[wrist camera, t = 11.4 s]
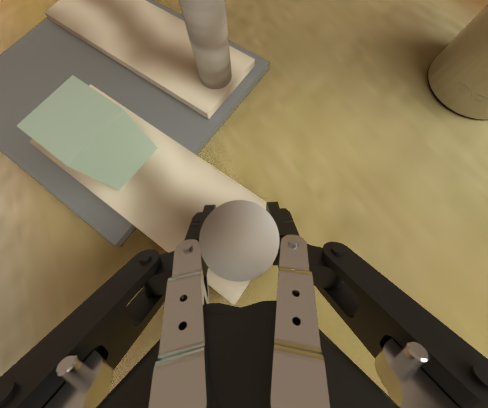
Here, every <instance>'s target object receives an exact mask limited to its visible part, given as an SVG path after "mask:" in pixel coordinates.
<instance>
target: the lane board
mask: <svg viewBox="0 0 488 408" xmlns="http://www.w3.org/2000/svg"><path fill="white" fill-rule="evenodd" d="M146 1H148V2H150V3H152V4H153V5H155V6H157V7H159V8H161V9H163V10H165V11H166V12H168V13H170V14H172V15H174V16H176V17H178V18H179V19H181V20H183V21H184V18H183V16H182V15H181V14H179V13H177V12H175V11H173V10H171V9H169V8H167V7H166V6H164V5H162V4H160V3H158V2H156V1H154V0H146ZM229 46H231V47H233V48H235V49H237V50H239V51H241V52H242V53H244V54H246V55H248V56H250V57H252V58H254V59H255V66H254V68H253V69H252V70H251V71H250V72H249V73H248V75H247V76H246V77H245V78H244V79H243V80H242V81H241V83H240V84H239V85H238V86H237V87H236V88H235V90H234V91H233V92H232V93H231V94H230V95H229V97H228V98H227V99H226V100H225V101H224V102H223V104H222V105H221V106H220V107H219V108H218V109H217V111H216V112H215V113H214V114H213V115H212V116H211V117H210V119H208V118H206V117H204V116H203V115H201V114H200V113H198V112H196V111H195V110H193V109H192V108H190V107H188V106H187V105H185V104H184V103H182V102H180V101H179V100H177V99H176V98H174V97H172V96H171V95H169V94H168V93H166V92H164V91H163V90H161V89H160V88H158V87H156V86H155V85H153V84H152V83H150V82H148V81H147V80H145V79H144V78H142V77H140V76H139V75H137V74H136V73H134V72H132V71H131V70H129V69H128V68H126V67H124V66H123V65H121V64H120V63H118V62H116V61H115V60H113V59H112V58H110V57H109V56H107V55H105V54H104V53H102V52H101V51H99V50H97V49H96V48H94V47H93V46H91V45H89V44H88V43H86V42H85V41H83V40H81V39H80V38H78V37H77V36H75V35H73V34H72V33H70V32H69V31H67V30H65V29H64V28H62V27H61V26H59V25H57V24H56V23H54V22H53V21H51V20H50V19H49V18H48V17H47V18H46V19H44V20H43V21H42V22H41V23H40V24H38V25H37V26H36V27H35V28H33V29H32V30H31V31H30V32H28V33H27V34H26V35H25V36H23V37H22V38H21V39H20V40H18V41H17V42H16V43H15V44H13V45H12V46H11V47H10V48H8V49H7V50H6V51H5V52H3V53H2V54H1V55H0V151H2V152H3V153H4V154H5V155H6V156H8V157H9V158H10V159H11V160H12V161H13V162H15V163H16V164H17V165H18V166H19V167H21V168H22V169H23V170H24V171H25V172H27V173H28V174H29V175H30V176H31V177H33V178H34V179H35V180H36V181H37V182H39V183H40V184H41V185H42V186H43V187H45V188H46V189H47V190H48V191H49V192H51V193H52V194H53V195H54V196H55V197H56V198H58V199H59V200H60V201H61V202H62V203H64V204H65V205H66V206H67V207H68V208H70V209H71V210H72V211H73V212H74V213H76V214H77V215H78V216H79V217H80V218H82V219H83V220H84V221H85V222H86V223H88V224H89V225H90V226H91V227H92V228H93V229H95V230H96V231H97V232H98V233H99V234H101V235H102V236H103V237H104V238H105V239H107V240H108V241H109V242H110V243H111V244H113V245H114V246H121V245H122V244H123V243H124V242H125V240H126V239H127V238H128V237H129V236H130V235H131V233H132V232H133V231H134V230H135V229H136V227H135V226H134V225H133V224H131V223H130V222H129V221H128V220H126V219H125V218H124V217H123V216H121V215H120V214H119V213H118V212H116V211H115V210H114V209H113V208H111V207H110V206H109V205H108V204H106V203H105V202H104V201H103V200H101V199H100V198H99V197H98V196H96V195H95V194H94V193H93V192H91V191H90V190H89V189H88V188H86V187H85V186H84V185H83V184H81V183H80V182H79V181H77V180H76V179H75V178H74V177H72V176H71V175H70V174H69V173H67V172H66V171H65V170H64V169H62V168H61V167H60V166H59V165H57V164H56V163H55V162H54V161H52V160H51V159H50V158H49V157H47V156H46V155H45V154H44V153H42V152H41V151H40V150H39V149H37V148H36V147H35V146H34V145H32V144H31V143H30V142H29V141H30V140H32V138H31V137H30V136H29V135H27V134H26V133H25V132H24V131H22V130H21V129H20V128H18V127H17V125H18V124H19V123H20V122H21V121H22V120H23V119H24V118H26V117H27V116H28V115H29V114H30V113H31V112H32V111H33V110H34V109H36V108H37V107H38V106H39V105H40V104H41V103H42V102H43V101H44V100H45V99H47V98H48V97H49V96H50V95H51V94H52V93H53V92H54V91H55V90H57V89H58V88H59V87H60V86H61V85H62V84H63V83H64V82H65V81H67V80H68V79H69V78H70V77H71V76H72V75H74V76H75V77H76V78H78V79H79V80H81V81H82V82H84V83H85V84H87V85H88V86H89V85H90V84H91V85H93V86H94V87H96V88H97V89H99V90H100V91H102V92H103V93H105V94H106V95H108V96H109V97H111V98H112V99H113V100H115V101H116V102H118V103H119V104H121V105H122V106H124V107H125V108H127V109H128V110H130V111H131V112H133V113H134V114H136V115H137V116H139V117H140V118H142V119H143V120H145V121H146V122H148V123H149V124H151V125H152V126H154V127H155V128H157V129H158V130H160V131H161V132H163V133H164V134H166V135H167V136H169V137H170V138H172V139H173V140H175V141H176V142H178V143H179V144H180V145H182V146H183V147H185V148H186V149H188V150H189V151H191V152H192V153H194V154H195V155H198V153H199V152H200V151H201V150H202V149H203V147H204V146H205V145H206V144H207V143H208V141H209V140H210V139H211V138H212V137H213V135H214V134H215V133H216V132H217V131H218V129H219V128H220V127H221V126H222V125H223V124H224V122H225V121H226V120H227V119H228V118H229V116H230V115H231V114H232V113H233V112H234V110H235V109H236V108H237V107H238V106H239V104H240V103H241V102H242V101H243V100H244V98H245V97H246V96H247V95H248V94H249V92H250V91H251V90H252V89H253V88H254V87H255V85H256V84H257V83H258V82H259V81H260V79H261V78H262V77H263V76H264V75H265V73H266V72H267V71H268V70H269V66H270V62H269V61H267V60H265V59H263V58H261V57H259V56H257V55H256V54H254V53H252V52H250V51H248V50H246V49H244V48H242V47H241V46H239V45H237V44H235V43H233V42H231V41H229Z"/></svg>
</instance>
